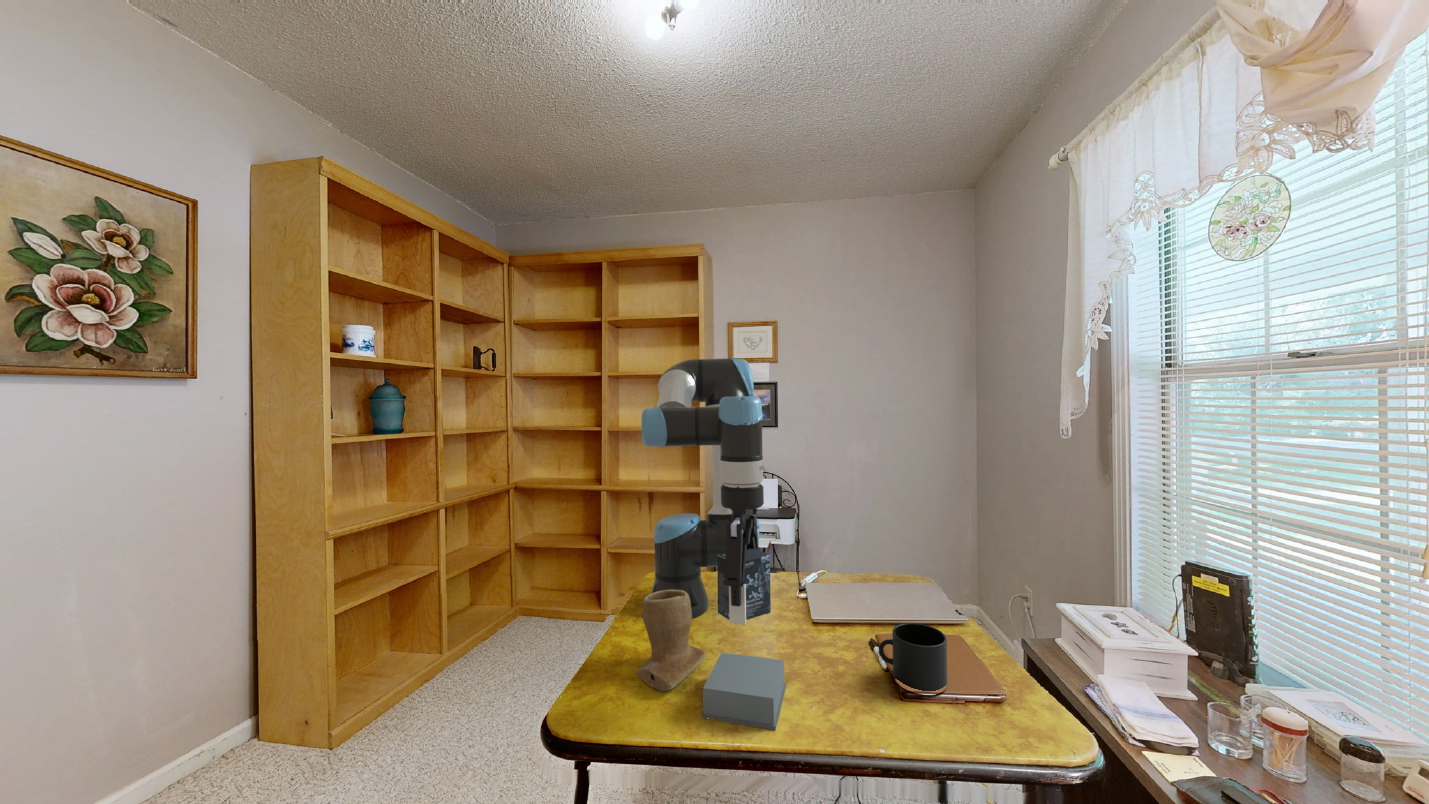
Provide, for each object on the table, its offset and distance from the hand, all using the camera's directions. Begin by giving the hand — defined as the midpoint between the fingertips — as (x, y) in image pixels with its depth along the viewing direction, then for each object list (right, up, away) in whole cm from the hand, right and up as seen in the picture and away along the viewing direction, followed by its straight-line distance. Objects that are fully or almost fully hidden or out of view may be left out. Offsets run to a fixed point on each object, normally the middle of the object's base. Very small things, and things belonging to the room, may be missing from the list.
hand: (744, 610), depth 89 cm
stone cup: (-14, -17, +11) cm, 25 cm away
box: (0, -1, 0) cm, 1 cm away
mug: (+32, -16, +6) cm, 36 cm away
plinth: (0, -16, 0) cm, 16 cm away
